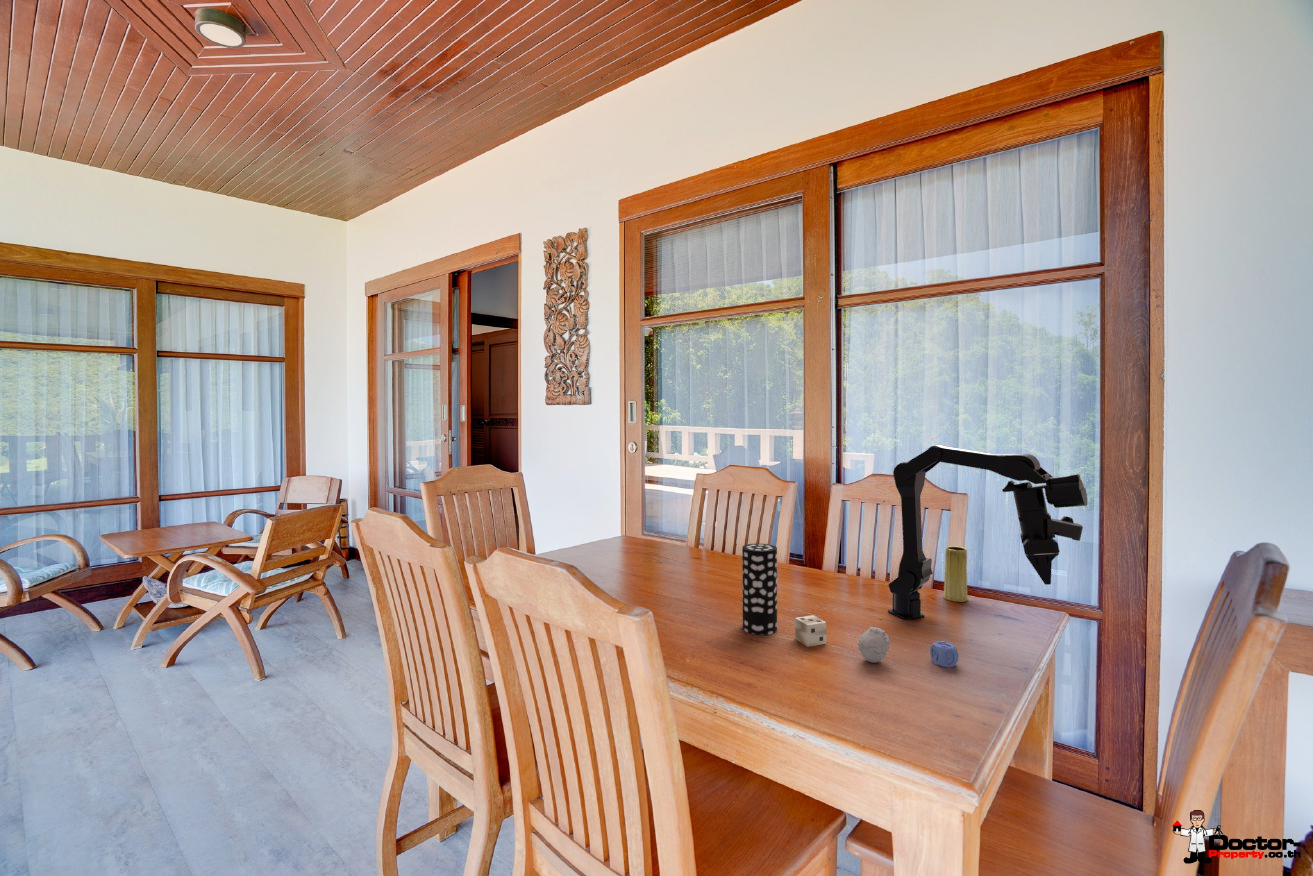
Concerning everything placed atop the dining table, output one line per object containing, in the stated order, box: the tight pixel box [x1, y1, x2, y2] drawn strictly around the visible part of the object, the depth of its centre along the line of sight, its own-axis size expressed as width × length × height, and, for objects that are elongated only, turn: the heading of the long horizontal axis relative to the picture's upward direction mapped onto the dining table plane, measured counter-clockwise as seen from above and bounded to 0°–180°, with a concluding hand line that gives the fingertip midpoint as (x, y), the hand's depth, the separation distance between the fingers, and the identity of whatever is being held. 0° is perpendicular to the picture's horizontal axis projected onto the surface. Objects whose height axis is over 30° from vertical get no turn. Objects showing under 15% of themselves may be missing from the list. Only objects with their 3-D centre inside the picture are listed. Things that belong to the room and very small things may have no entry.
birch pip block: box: [794, 614, 827, 648], centre depth 134 cm, size 5×5×5 cm
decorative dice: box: [929, 640, 960, 668], centre depth 122 cm, size 4×4×4 cm
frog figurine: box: [857, 626, 891, 664], centre depth 123 cm, size 6×7×7 cm
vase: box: [942, 545, 969, 603], centre depth 163 cm, size 6×6×14 cm
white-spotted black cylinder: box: [741, 543, 778, 636], centre depth 142 cm, size 8×8×20 cm
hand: (1046, 580), depth 129 cm, fingers open, 9 cm apart
